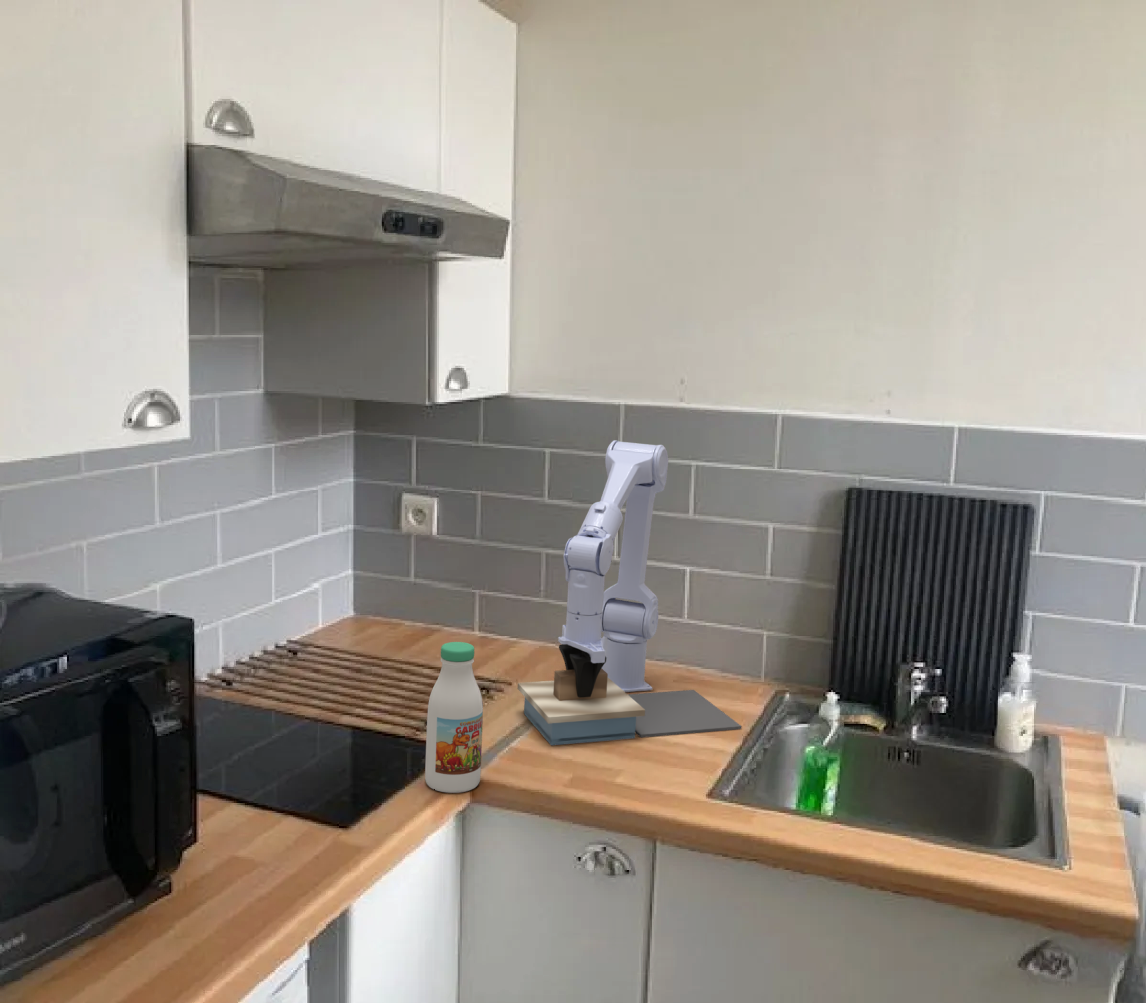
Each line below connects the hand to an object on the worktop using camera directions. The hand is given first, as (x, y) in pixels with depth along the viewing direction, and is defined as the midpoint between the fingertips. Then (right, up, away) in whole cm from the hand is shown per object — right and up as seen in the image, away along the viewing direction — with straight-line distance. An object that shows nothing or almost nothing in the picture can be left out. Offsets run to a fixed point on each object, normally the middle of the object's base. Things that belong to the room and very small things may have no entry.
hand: (580, 692), depth 182 cm
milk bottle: (-18, -9, -23) cm, 31 cm away
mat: (+15, -5, +9) cm, 18 cm away
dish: (0, -6, +1) cm, 6 cm away
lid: (0, -2, 0) cm, 2 cm away
